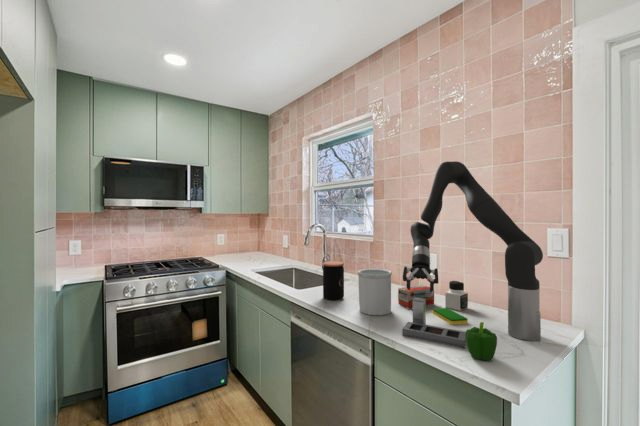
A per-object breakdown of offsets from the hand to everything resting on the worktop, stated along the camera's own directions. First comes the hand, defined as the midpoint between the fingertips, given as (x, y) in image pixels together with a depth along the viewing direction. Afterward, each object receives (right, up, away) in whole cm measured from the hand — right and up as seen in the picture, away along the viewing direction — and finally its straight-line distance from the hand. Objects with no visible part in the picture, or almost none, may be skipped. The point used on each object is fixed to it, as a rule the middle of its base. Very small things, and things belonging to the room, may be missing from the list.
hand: (419, 290), depth 124 cm
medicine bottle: (+21, -12, +14) cm, 28 cm away
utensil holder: (-17, -12, +10) cm, 23 cm away
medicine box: (+5, -12, +19) cm, 23 cm away
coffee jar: (-34, -12, +30) cm, 47 cm away
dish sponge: (+12, -12, 0) cm, 17 cm away
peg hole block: (-1, -12, -19) cm, 22 cm away
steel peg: (-3, -12, -7) cm, 14 cm away
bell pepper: (+8, -12, -33) cm, 36 cm away
